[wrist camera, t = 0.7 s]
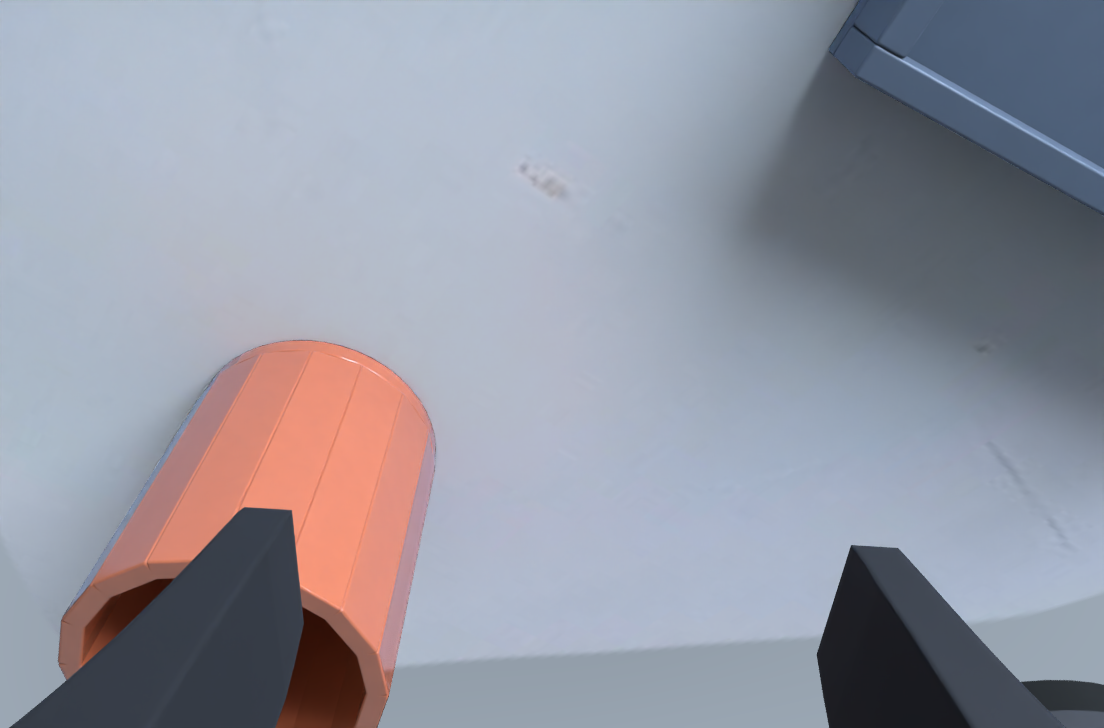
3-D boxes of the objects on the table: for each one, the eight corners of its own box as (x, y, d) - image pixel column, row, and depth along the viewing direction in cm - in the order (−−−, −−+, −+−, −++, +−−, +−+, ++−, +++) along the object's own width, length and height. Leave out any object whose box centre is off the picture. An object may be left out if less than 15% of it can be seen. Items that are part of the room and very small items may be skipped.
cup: (478, 484, 23) (444, 730, 17) (289, 557, 24) (195, 809, 18) (353, 301, 20) (260, 515, 14) (149, 395, 21) (-14, 626, 15)
